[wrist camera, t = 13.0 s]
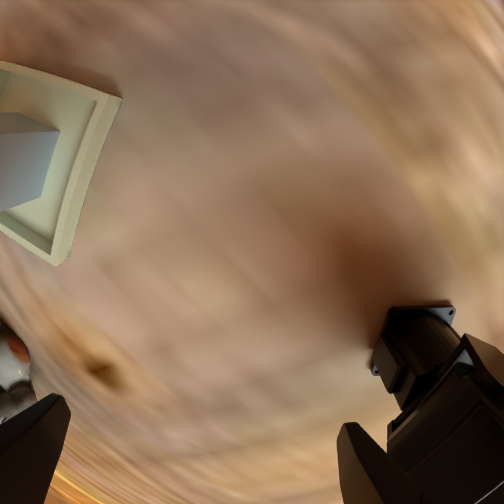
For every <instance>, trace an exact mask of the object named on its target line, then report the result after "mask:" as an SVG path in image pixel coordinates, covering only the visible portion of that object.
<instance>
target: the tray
mask: <svg viewBox="0 0 504 504" xmlns="http://www.w3.org/2000/svg"><path fill="white" fill-rule="evenodd" d="M122 100H123V99H122V98H120V97H117V96H114V95H112V94H109V93H106V92H104V91H101V90H98V89H95V88H93V87H90V86H87V85H84V84H81V83H78V82H75V81H72V80H69V79H66V78H63V77H60V76H57V75H54V74H50V73H47V72H44V71H40V70H37V69H34V68H30V67H27V66H23V65H19V64H16V63H11V62H6V61H1V60H0V113H20V114H22V115H24V116H27V117H29V118H31V119H34V120H36V121H38V122H40V123H43V124H45V125H47V126H49V127H52V128H54V129H56V130H58V131H61V132H60V134H59V137H58V140H57V143H56V146H55V149H54V152H53V155H52V159H51V162H50V165H49V169H48V172H47V176H46V179H45V183H44V187H43V191H42V195H41V197H40V198H37V199H34V200H32V201H29V202H26V203H23V204H21V205H18V206H15V207H13V208H10V209H7V210H5V211H2V212H0V230H1V231H2V232H3V233H5V234H6V235H8V236H9V237H11V238H12V239H14V240H15V241H16V242H18V243H19V244H21V245H22V246H24V247H25V248H27V249H28V250H30V251H31V252H33V253H35V254H36V255H38V256H39V257H41V258H42V259H44V260H46V261H47V262H49V263H50V264H52V265H54V266H55V267H56V266H57V265H58V264H60V263H61V262H62V261H64V260H65V259H67V258H68V257H69V255H70V251H71V247H72V243H73V239H74V235H75V231H76V227H77V223H78V220H79V216H80V213H81V209H82V206H83V202H84V199H85V196H86V193H87V190H88V187H89V184H90V181H91V178H92V175H93V172H94V169H95V166H96V163H97V161H98V158H99V155H100V152H101V150H102V147H103V145H104V142H105V140H106V137H107V135H108V132H109V130H110V127H111V125H112V123H113V120H114V118H115V116H116V113H117V111H118V109H119V107H120V105H121V102H122Z"/></svg>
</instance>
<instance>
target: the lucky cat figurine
mask: <svg viewBox="0 0 504 504" xmlns="http://www.w3.org/2000/svg"><path fill="white" fill-rule="evenodd" d="M36 402H38V401H37V398H36V395H35V392H34V389H33V385H32V381H31V376H30V356H29V353H28V350H27V348H26V345H24V344H23V342H22V341H21V340H20V339H19V338H18V337H17V336H16V335H15V334H14V333H13V332H12V330H11V329H10V328H9V327H8V326H7V325H3V324H1V323H0V424H2V423H3V422H5V421H7V420H8V419H10V418H12V417H13V416H15V415H17V414H18V413H20V412H21V411H23V410H25V409H26V408H28V407H30V406H31V405H33V404H35V403H36Z"/></svg>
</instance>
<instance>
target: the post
mask: <svg viewBox="0 0 504 504" xmlns="http://www.w3.org/2000/svg"><path fill="white" fill-rule="evenodd" d="M60 132H61V131H58V130H56V129H54V128H52V127H49V126H47V125H45V124H43V123H40V122H38V121H36V120H34V119H31V118H29V117H27V116H24V115H22V114H20V113H0V212H2V211H5V210H7V209H10V208H13V207H15V206H18V205H21V204H23V203H26V202H29V201H32V200H34V199H37V198H40V197H41V195H42V191H43V187H44V183H45V179H46V176H47V172H48V169H49V165H50V162H51V159H52V155H53V152H54V149H55V146H56V143H57V140H58V137H59V134H60Z"/></svg>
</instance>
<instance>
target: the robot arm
mask: <svg viewBox="0 0 504 504" xmlns="http://www.w3.org/2000/svg"><path fill="white" fill-rule="evenodd" d="M395 312H396V314H395V315H393V314H394V313H395ZM455 312H456V309H455V308H454V307H453V306H452V305H438V306H408V307H392V308H391V309H390V310H389V311H388V313H387V317H386V321H385V324H384V328H383V331H382V333H381V334H380V336H379V340H378V343H377V346H376V350H375V353H374V356H373V364H372V367H371V372H372V375H374V376H380V377H381V379H382V381H383V383H384V386H385V388H386V390H387V392H388V393H389V394H392V393H393V394H394V396H395V398H396V400H397V403H398V405H399V407H400V409H401V411H402V412H401V414H400V415H399V416H398V417H397V418H396V419H395V420H392V421H391V422H390V423H389V424H388V425H387V453H386V452H385V451H384V450H383V449H382V448H381V447H380V446H379V445H378V444H377V443H376V442H375V441H374V440H373V439H372V438H371V437H370V436H369V434H368V433H367V432H366V431H365V430H364V429H363V428H362V427H361V426H360V425H359V424H358V423H357V422H347V423H344V424H343V425H342V427H341V430H340V432H339V435H338V437H337V454H338V466H339V479H340V487H341V492H342V497H343V502H344V504H504V354H503V353H502V352H500V351H499V350H498V349H497V348H496V347H494V346H492V345H490V344H488V343H486V342H484V341H481V340H479V339H477V338H475V337H473V336H471V335H469V334H466V333H464V335H463V336H462V338H461V337H460V336H459V335H458V334H457V332H456V331H455V330H454V329H453V328H452V327H451V324H452V321H453V318H454V315H455ZM392 315H393V316H392ZM376 370H377V371H376ZM70 418H71V412H70V409H69V407H68V405H67V403H66V401H65V399H64V397H63V396H62V395H59V394H56V393H51V394H49V395H48V396H46V397H44V398H43V399H41V400H40V401H38V402H36V403H35V404H33V405H31V406H30V407H28V408H26V409H25V410H23V411H21V412H20V413H18V414H17V415H15V416H13V417H12V418H10V419H8V420H7V421H5V422H3V423H2V424H0V504H44V501H45V498H46V495H47V492H48V489H49V486H50V483H51V480H52V477H53V474H54V471H55V468H56V466H57V463H58V460H59V457H60V455H61V452H62V448H63V444H64V440H65V436H66V433H67V429H68V425H69V422H70Z"/></svg>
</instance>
